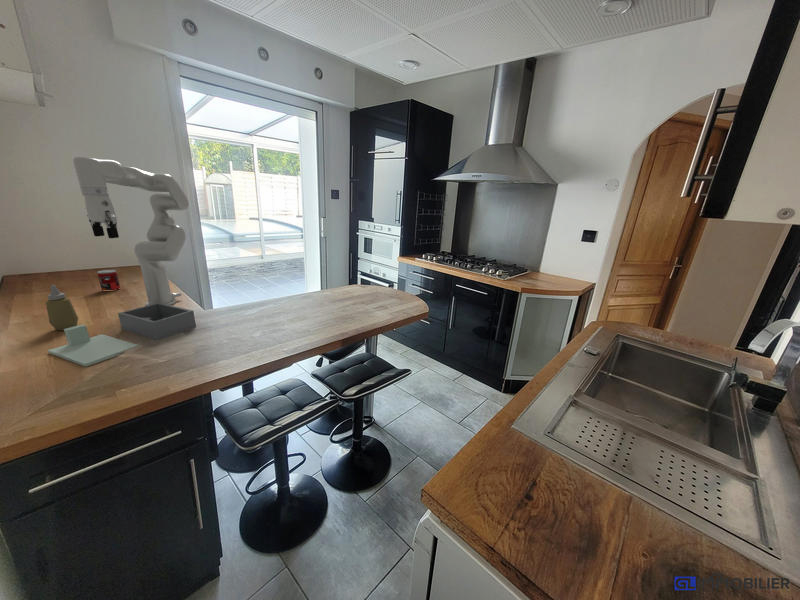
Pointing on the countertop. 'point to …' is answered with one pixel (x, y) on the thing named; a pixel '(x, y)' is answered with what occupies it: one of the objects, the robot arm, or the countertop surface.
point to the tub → (157, 320)
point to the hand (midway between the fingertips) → (106, 236)
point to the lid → (89, 347)
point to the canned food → (108, 279)
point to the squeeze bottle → (60, 310)
